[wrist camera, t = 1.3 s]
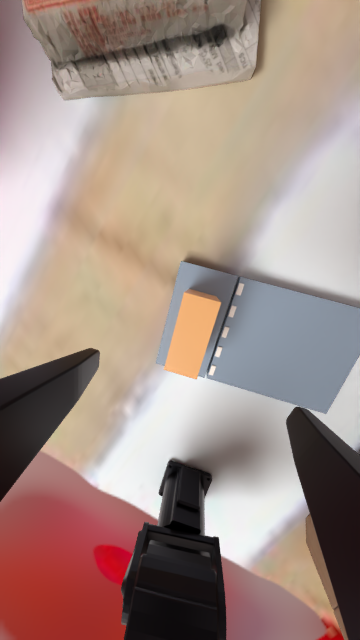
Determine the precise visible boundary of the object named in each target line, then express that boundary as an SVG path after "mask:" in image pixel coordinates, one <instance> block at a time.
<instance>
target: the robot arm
mask: <svg viewBox="0 0 360 640" xmlns="http://www.w3.org/2000/svg"><path fill="white" fill-rule="evenodd" d="M99 357H100V352H99V350H96V349H93V348H88V349H85V350H83V351H80V352H77V353H74V354H71V355H68V356H65V357H62V358H59V359H56V360H54V361H51V362H48V363H45V364H42V365H39V366H36V367H33V368H30V369H27V370H25V371H22V372H19V373H16V374H13V375H10V376H7V377H4V378H1V379H0V502H1V500H2V499H3V498H4V496H5V495H6V494H7V492H8V491H9V490H10V489H11V487H12V486H13V485H14V483H15V482H16V480H17V479H18V478H19V477H20V475H21V474H22V473H23V472H24V470H25V469H26V468H27V466H28V465H29V464H30V463H31V461H32V460H33V459H34V457H35V456H36V455H37V453H38V452H39V451H40V450H41V448H42V447H43V446H44V444H45V443H46V442H47V440H48V439H49V438H50V437H51V435H52V434H53V433H54V431H55V430H56V429H57V427H58V426H59V425H60V424H61V422H62V421H63V420H64V418H65V417H66V416H67V414H68V413H69V412H70V411H71V409H72V408H73V407H74V405H75V404H76V403H77V401H78V400H79V398H80V397H81V395H82V394H83V392H84V390H85V389H86V387H87V386H88V384H89V382H90V381H91V379H92V377H93V376H94V374H95V373H96V371H97V369H98V367H99ZM286 425H287V430H288V434H289V439H290V444H291V448H292V453H293V458H294V462H295V466H296V469H297V473H298V476H299V479H300V482H301V486H302V489H303V492H304V496H305V499H306V502H307V506H308V509H309V512H310V515H311V519H312V522H313V525H314V529H315V532H316V535H317V538H318V542H319V545H320V548H321V552H322V555H323V558H324V561H325V565H326V568H327V571H328V575H329V578H330V581H331V585H332V588H333V591H334V594H335V598H336V601H337V604H338V608H339V611H340V614H341V617H342V621H343V624H344V627H345V631H346V634H347V637H348V640H360V455H359V454H358V453H356V452H355V451H354V450H353V449H352V448H351V447H350V446H349V445H347V444H346V443H345V442H344V441H343V440H342V439H341V438H339V437H338V436H337V435H336V434H335V433H334V432H333V431H331V430H330V429H329V428H328V427H327V426H326V425H325V424H323V423H322V422H321V421H320V420H319V419H318V418H317V417H316V416H314V415H313V414H312V413H311V412H310V411H309V410H307V409H305V408H301V407H295V408H294V409H293V411H292V412H291V414H290V415H289V416H288V418H287V420H286ZM211 481H212V476H211V474H209V473H206V472H203V471H200V470H197V469H194V468H191V467H188V466H185V465H182V464H178V463H175V462H172V461H169V462H168V464H167V467H166V470H165V473H164V477H163V480H162V483H161V486H160V489H159V495H161V496H163V497H162V503H161V508H160V514H159V519H158V525H157V526H156V525H152V524H149V523H148V522H145V523H144V526H143V529H142V530H141V531H139V533H138V537H137V541H136V545H135V549H134V552H133V555H132V558H131V560H130V563H129V566H128V568H127V571H126V574H125V576H124V579H123V582H122V587H121V592H122V595H123V611H122V624H123V625H126V631H125V636H124V640H226V604H225V591H224V581H223V572H222V565H221V564H222V563H221V554H220V546H219V537H215V536H214V537H209V536H205V518H204V498H205V495H206V493H207V491H208V488H209V486H210V483H211Z"/></svg>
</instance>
